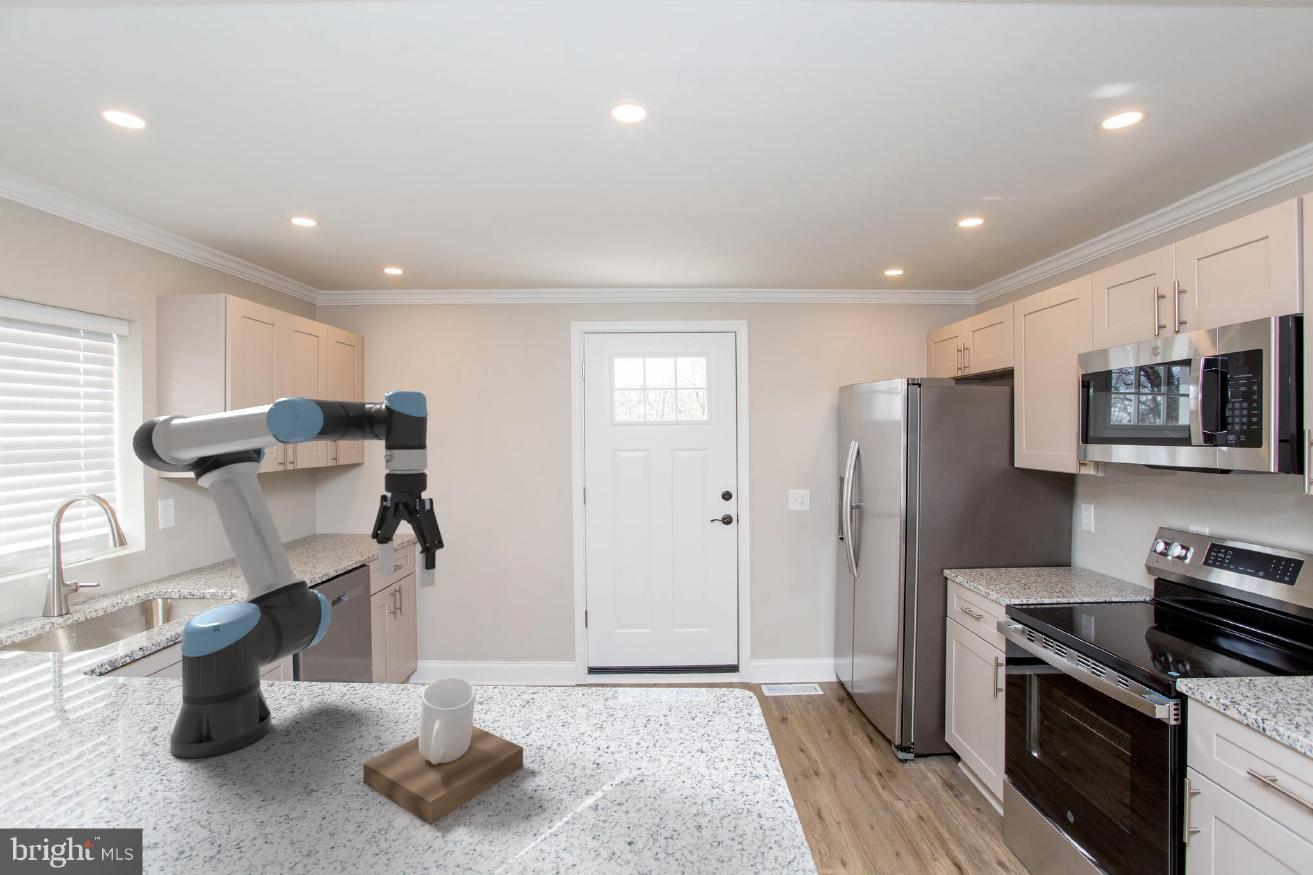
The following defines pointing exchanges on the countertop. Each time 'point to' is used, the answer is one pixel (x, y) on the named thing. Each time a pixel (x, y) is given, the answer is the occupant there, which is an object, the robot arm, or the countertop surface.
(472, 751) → the walnut block
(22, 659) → the countertop surface
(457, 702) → the mug
